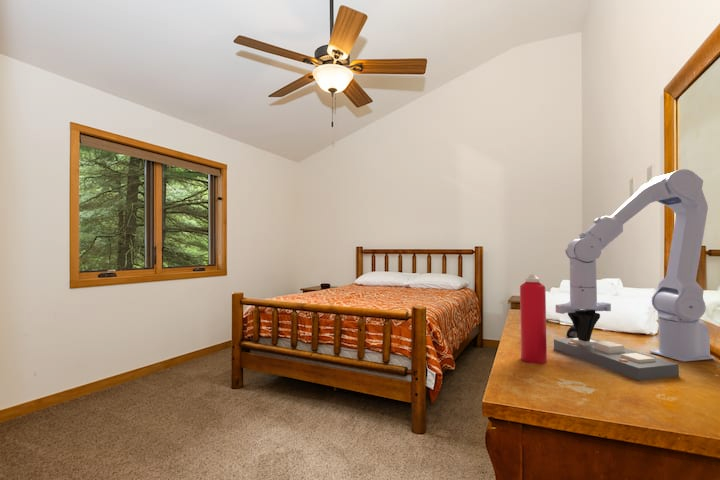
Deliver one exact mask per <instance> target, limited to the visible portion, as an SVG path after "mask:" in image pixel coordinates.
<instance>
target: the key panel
mask: <svg viewBox="0 0 720 480" xmlns="http://www.w3.org/2000/svg"><path fill="white" fill-rule="evenodd" d="M571 339H574V338H568V337H567V338H556V339H553V350H554V351H555V350H556V351H558V352H561V353H564V354H566V355H568V354H569V356H571V355H572V356H571V357H574V358H576V357H577V359H579V358H580V360H582V361H585V362H588V363H590V364H593V365H596V366H597V367H601V368H603V367H604V369H606V370H609V371H611V370H612V372H614V373H617V374H620V375H623V376H625V377H628V378H630V379H633V380H636V381H638V382H640V381H641V382H642V380H643V381H650V380H652V381H653V380H659V379H661V380H662V379H669V378H670V379H671V378H678V377H680V364H679V363H677V362H672V361H669V360H667V359H663V358H659V357H656V356H653V355H649V354H647V353H643V352H638V351H635V350H633V349H628V348H626V347H624V353H613V354H608V353H605V352H602V351H599V350H596V349H594V345H585V346H584V345H580V344H577V343H574V342H571ZM590 340H594V341H597V342H602V340H598V339H595V338H590ZM630 353H638V354H642V355H645V356H648V357H652V358H655V362H651V363H641V364H639V363H636V362H633V361H630V360H627V359H623V358H621V354H630Z"/></svg>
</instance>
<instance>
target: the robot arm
mask: <svg viewBox="0 0 720 480" xmlns="http://www.w3.org/2000/svg"><path fill="white" fill-rule="evenodd" d="M703 185H704V179H703V178H701V177H700V176H699V175H698V174H697V173H696V172H694V171H692V170H690V169H686V168H681V169H677V170H675V171H673V172H670V173H666V174H662V175H656V176H654V177H652V178H651V179H650V180H648V181H647V182H646V183H644V184H641V186H640V187H639V188H638V190H637V191H635V192H634V193H632V195H631V196H630V197H629V198H628V199H627V200H626V201H625V202H624V203H623V204H622V205H621V206H620V207H619V208H618V209H617V210H615V212H614V213H612V214H611V215H603V216H601V217H596V218H595V219H593V221H592V222H593V224H592V225H591V226H590V227H589V228H587V230H585V231H584V232H583V231H582V232H580V233H579V234H578V236H579V238H576V239H573V240H571V241H570V242H569V243H568V244H567V247H566V249H565V250H564V251H565V255H566V256H567V258H568V260H569V296H570V297H569V301H568V302H566V303H561V304H555V313H556V314H567V316H568V317H569V319H570V320H571V322H572V325H573V324H574V327H575V329H576V332H577V336H578V339H579V340H582V341H590V338H591V337H592V334H593V331H594V329H595V325H596V324H597V322H598V321H599V320H600V319H601V314H600V313H599V312H611V311H612V306H611V305H612V303H609V302H598V297H597V296H598V294H597V291H598V290H597V283H598V282H597V259H599V258H600V257H601V255H602V250H604V249H605V248H606V247H607V246H609V245H610V244H611V243H612V242H613V241H614V240H615V239H617V238H618V237H619V235H621V234H622V233H623V231H624V224H626V223H627V222H629V220H631V219H632V218H634V217H635V216H636V215H638V213H640V212H641V211H642V210H643V209H645V208H646V207H647V206H648V205H650V204H651V203H655V202H657V203H660V204H662V205H664V206H665V207H668V208H669V209H670V210H672V211H673V212H674V214H675V221H674V226H673V232H672V239H671V244H670V252H669V257H668V263H667V270H666V276H665V277H664V278H663V279H662V280H661V281H660V282H659V283H658V285H657V289H656V291H655V292H654V293H653V295H652V297H651V305H652V306H653V308H654V310H656V311H657V317H658V319H657V320H658V349H651V350H649V353H651V354H654V355H658V356H662V357H664V358H669V359H673V360H676V361H679V362H682V363H683V362H684V363H685V362H694V361H695V362H696V361H705V360H714V359H715V356H712V355H711V350H710V349H711V347H710V346H711V345H710V344H711V343H710V342H711V341H710V329H709V327H708V326H707V324H706V323H705V322H704V321H703V320H700V318H701V317H702V316H704V314H705V312H706V308H707V306H706V302H705V300H704V289H703V288H702V287H701V285H700V284H699V283H698V281H697V276H698V270H699V263H700V258H701V257H700V256H701V251H702V246H703V241H704V239H703V238H704V235H705V229H706V228H705V227H706V221H707V215H708V210H709V208H708V207H709V205H708V202H707V199H706V197H705V194H704V192H703Z"/></svg>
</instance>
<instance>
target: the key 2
mask: <svg viewBox="0 0 720 480" xmlns="http://www.w3.org/2000/svg"><path fill="white" fill-rule="evenodd" d="M621 358H623V359H627V360H630V361H633V362H636V363H639V364H641V363H651V362H655V358H652V357H648V356H645V355H642V354H638V353H630V354H621Z"/></svg>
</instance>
